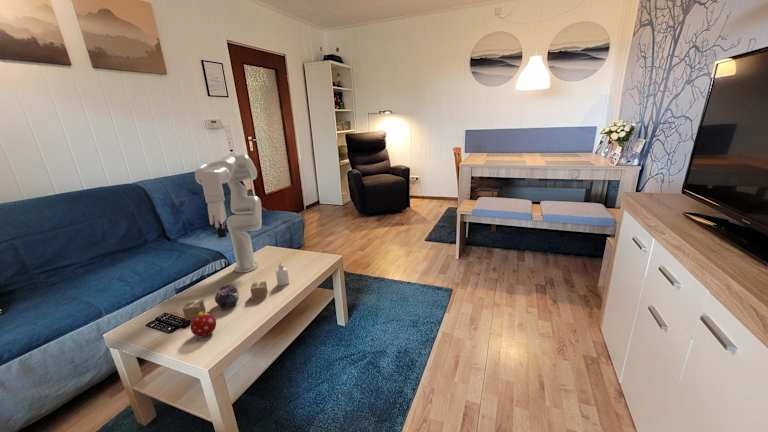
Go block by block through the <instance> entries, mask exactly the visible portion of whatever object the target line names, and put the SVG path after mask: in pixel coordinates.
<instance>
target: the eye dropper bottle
mask: <svg viewBox="0 0 768 432" xmlns="http://www.w3.org/2000/svg"><path fill="white" fill-rule="evenodd" d="M275 276H276V284H277V286H279V287H280V286H281V287H282V286H286V285H288V284H290V280H289V279H290V278H289V271H288V269H287V268H286V267H284V264H283V263H282V262H281V261H279V264H278V268H277V269H276V270H275Z"/></svg>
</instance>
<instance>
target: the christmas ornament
mask: <svg viewBox="0 0 768 432" xmlns="http://www.w3.org/2000/svg"><path fill="white" fill-rule="evenodd" d="M216 325H217V320H216V318H215V316H213V315H212V314H211V313H207V312H205V313H202V312H199V315H198V316H196V317H195V318H194V319H193V320H191V322H190V331H191V333H192V334H193V335H194V336H196V337H197V338H198V337H199V338H200V337H201V338H202V337H203V338H205V337H207V336H209V335H211V334H212V333H213V332H214V331H215V329H216Z"/></svg>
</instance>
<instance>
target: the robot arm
mask: <svg viewBox="0 0 768 432" xmlns="http://www.w3.org/2000/svg"><path fill="white" fill-rule="evenodd" d="M257 177H258V170H257V168H256V166H255V164H254V162H253V160H252V159H251V158H250V156H249V155H247V154H229V155H225V156H224V157H222V158H221V159H220V160H218V161H213V162H209V163H206V164H203V165H200V166H199V167H198V168H197V169H196V170H195V172H194V178H195V181H196V182H197V183H198V184H199V185H202V189H203V195H204V198H205V199H204V200H205V203H206V204H207V212H208V219H209V224H210V226H213V225H214V227H215V228H216V232H217V236H218V238H219V239H223V238H226V237H227V236H228V234H227V230H228V232H229V235H230V239H231V243H232V248H233V253H234V254H233V255H234V259H235V263H236V265H235V266H234V268H233V270H234V272H236V273H239V274H240V273H241V274H243V273H248V272H252V271H254V270H255V269H257V268H258V267H259V263H258V262H257V261H256V260H255V256H254V250H253V244H252V238H251V235H250V234H249V233H248V232H251V231H252V232H253V231H258V230H260V229H261V228H262V222H263V221H262V220H263V219H262V214H263V213H262V210H263V209H262V201H261V199H260V197H258V196H257V195H248V189H247V187H246V186H244V185H243V184H242V183H241V182H244V181H254V180H256V179H257ZM223 184H227V185H228V188H229V190H230V212H231V213H232V214H233V215H230V216H228V217H227V211H226V207H225V201H226V197H225V194H224V189H223ZM225 221H226V224H225ZM226 226H227V227H226ZM226 228H227V229H226Z"/></svg>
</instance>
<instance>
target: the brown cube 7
mask: <svg viewBox="0 0 768 432" xmlns="http://www.w3.org/2000/svg"><path fill="white" fill-rule="evenodd" d="M182 311H183V316H184V319H187V320H190V321H191V322H192V321H193V319H194V318H195V317H196V316H198V315H199V312H202V313H206V311H207V310H206V306H205V301H204V299H203V298H202V299H195V300H188V301H186V302H185V304H184V306H183V307H182ZM190 321H189V322H190Z"/></svg>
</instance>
